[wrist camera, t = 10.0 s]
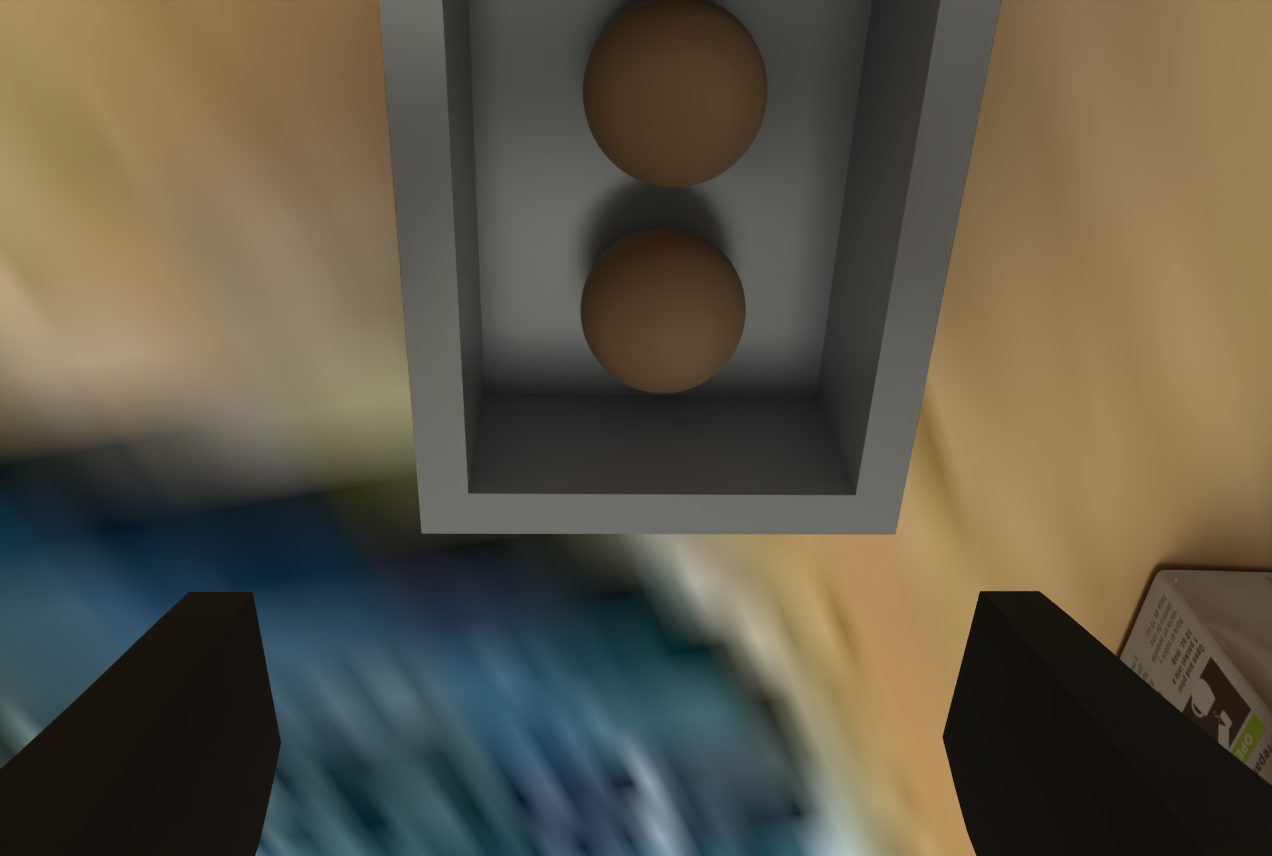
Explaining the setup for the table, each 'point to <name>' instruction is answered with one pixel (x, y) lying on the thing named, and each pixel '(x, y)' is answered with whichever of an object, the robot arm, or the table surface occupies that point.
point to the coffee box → (1211, 655)
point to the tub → (716, 209)
